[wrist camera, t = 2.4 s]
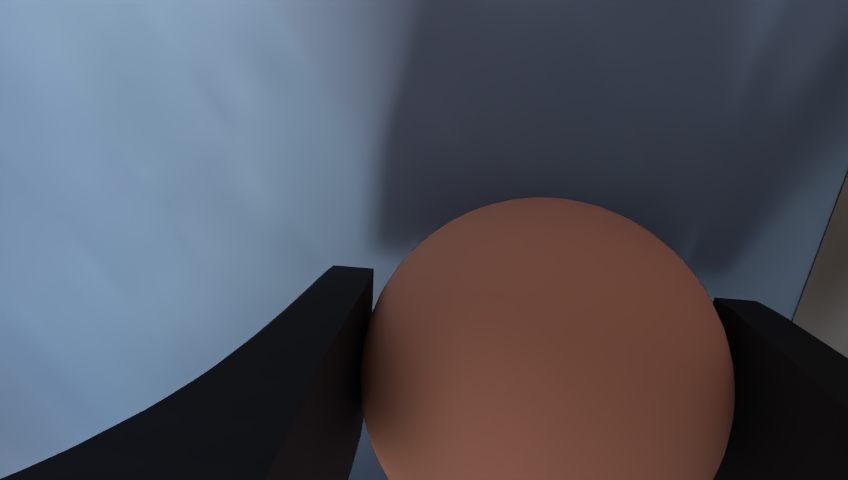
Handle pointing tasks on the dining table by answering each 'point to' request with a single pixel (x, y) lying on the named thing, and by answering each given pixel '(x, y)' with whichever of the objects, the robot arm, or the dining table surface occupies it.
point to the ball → (546, 353)
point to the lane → (829, 284)
